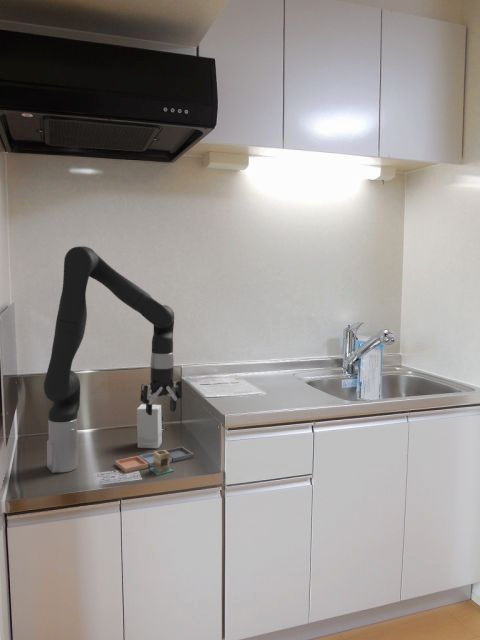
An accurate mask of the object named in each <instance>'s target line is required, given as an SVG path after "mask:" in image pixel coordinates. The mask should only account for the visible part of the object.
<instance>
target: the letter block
mask: <svg viewBox="0 0 480 640" xmlns="http://www.w3.org/2000/svg"><path fill="white" fill-rule="evenodd" d="M166 450H167V449H160V450H155V451H153V453H154V455H153V469H154V470H156V471H157V472H158V473H160V472H164V471H168V470H169V468H170V463H169V462H170V453H169V452H167V451H166Z"/></svg>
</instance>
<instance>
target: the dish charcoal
mask: <svg viewBox="0 0 480 640" xmlns="http://www.w3.org/2000/svg"><path fill="white" fill-rule="evenodd" d="M165 450H166V451H167V452H169V453H170V458H172V463H177V462H180V461H186V460H188V459H189V460H190V459H194V455H195V454H194V452H191V451H190V450H188V449H187V448H185V446H179V447H174V448H169V449H165Z"/></svg>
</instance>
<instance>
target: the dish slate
mask: <svg viewBox="0 0 480 640" xmlns="http://www.w3.org/2000/svg"><path fill="white" fill-rule="evenodd" d="M153 455H154V452H151V453H149V452H148V453H145V454H140V455H138V456H139V457H140V458H142V459H143V460H144V461H146V462H147V463H148V464H149V466H148V468H152V467H153ZM172 463H173V462H172V458H170V462H169V464H172Z"/></svg>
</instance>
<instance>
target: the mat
mask: <svg viewBox="0 0 480 640" xmlns="http://www.w3.org/2000/svg"><path fill="white" fill-rule="evenodd" d="M148 469H149V471H151V472H152V473H153V474H155V475H156V476H160V475H164V474H165V473H166V474H170V473H173V472H174V470H173V469H172V468H170V467H169V470H168V471H164V472H160V473H158V472H157V471H156V470H154V469H153V467H148Z"/></svg>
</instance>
